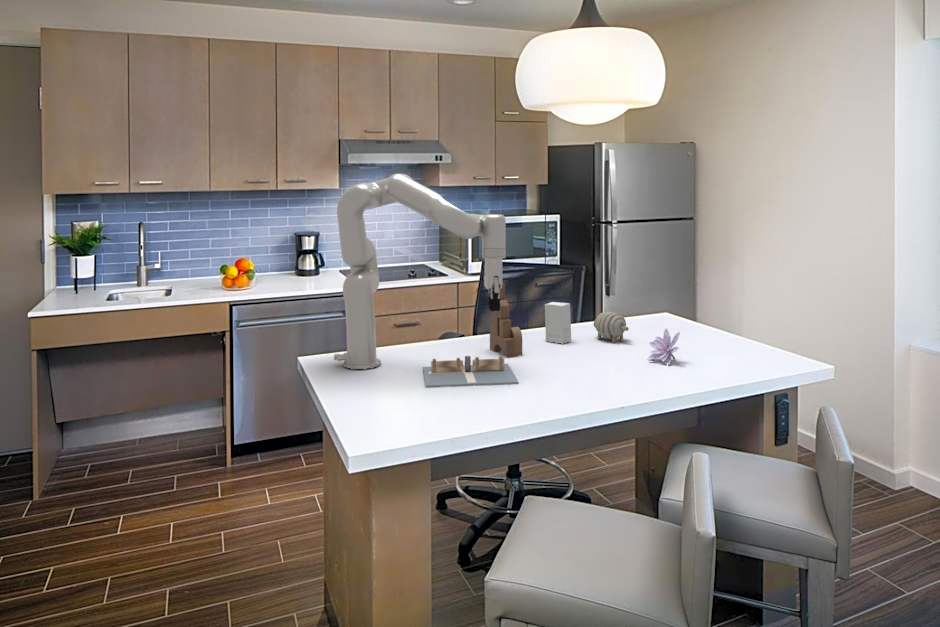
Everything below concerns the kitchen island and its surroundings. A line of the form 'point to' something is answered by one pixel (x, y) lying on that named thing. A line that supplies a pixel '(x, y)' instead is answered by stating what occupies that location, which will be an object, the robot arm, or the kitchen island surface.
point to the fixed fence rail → (447, 365)
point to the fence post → (467, 363)
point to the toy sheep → (610, 325)
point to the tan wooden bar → (488, 364)
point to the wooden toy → (505, 331)
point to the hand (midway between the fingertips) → (494, 309)
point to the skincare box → (558, 322)
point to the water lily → (664, 347)
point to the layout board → (469, 377)
